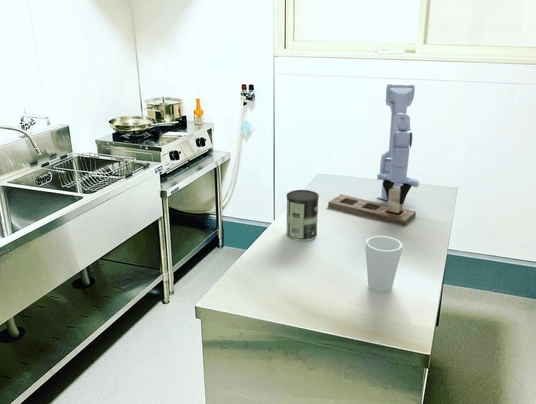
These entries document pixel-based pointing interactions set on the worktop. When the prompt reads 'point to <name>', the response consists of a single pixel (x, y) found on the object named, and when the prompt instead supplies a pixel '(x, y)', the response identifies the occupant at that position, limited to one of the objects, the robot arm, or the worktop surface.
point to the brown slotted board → (379, 213)
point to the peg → (394, 200)
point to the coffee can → (302, 215)
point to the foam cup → (382, 262)
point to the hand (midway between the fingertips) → (395, 202)
